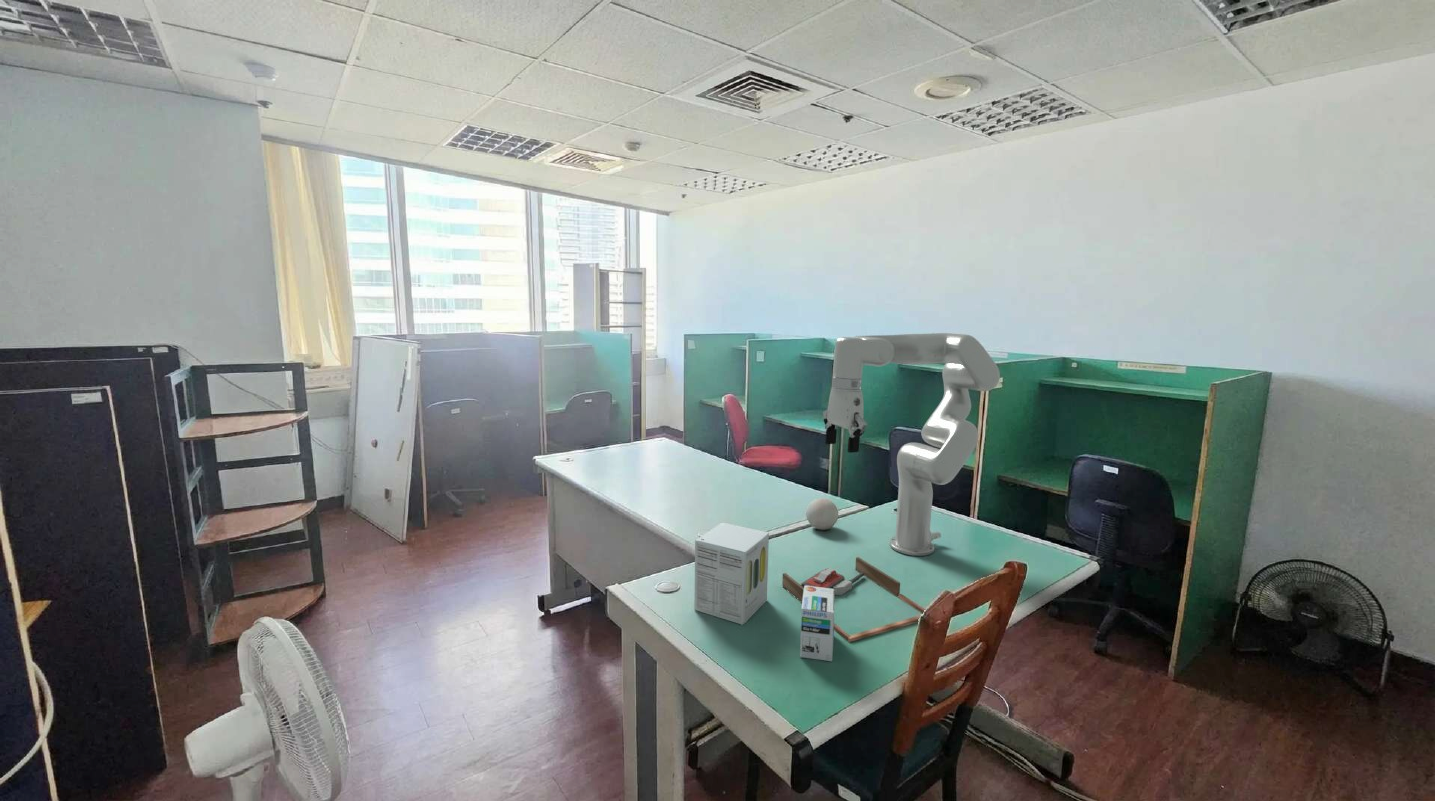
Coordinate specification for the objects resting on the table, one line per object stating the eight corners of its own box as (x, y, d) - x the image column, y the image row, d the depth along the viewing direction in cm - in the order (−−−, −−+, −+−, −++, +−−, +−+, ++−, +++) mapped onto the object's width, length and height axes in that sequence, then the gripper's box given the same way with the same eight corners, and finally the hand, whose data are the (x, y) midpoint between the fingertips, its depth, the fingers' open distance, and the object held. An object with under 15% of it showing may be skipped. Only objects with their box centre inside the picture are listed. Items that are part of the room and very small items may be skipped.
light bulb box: (832, 662, 117) (835, 612, 115) (798, 658, 118) (800, 608, 116) (833, 633, 127) (835, 587, 125) (801, 629, 128) (803, 584, 126)
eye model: (834, 536, 180) (836, 505, 178) (802, 531, 183) (803, 501, 182) (839, 525, 189) (841, 496, 187) (809, 521, 193) (810, 492, 191)
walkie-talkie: (826, 608, 138) (866, 579, 153) (827, 590, 137) (867, 563, 152) (795, 595, 144) (837, 569, 159) (796, 579, 143) (838, 554, 158)
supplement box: (743, 626, 129) (745, 552, 126) (693, 610, 136) (693, 539, 133) (768, 600, 141) (770, 532, 138) (720, 586, 147) (721, 521, 144)
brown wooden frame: (857, 569, 158) (858, 557, 157) (933, 617, 134) (934, 603, 133) (782, 586, 148) (782, 573, 147) (849, 642, 124) (850, 627, 123)
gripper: (879, 388, 147) (874, 454, 149) (837, 380, 162) (833, 440, 165) (856, 389, 143) (850, 456, 146) (815, 380, 159) (811, 441, 161)
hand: (841, 447), depth 155 cm, fingers open, 9 cm apart
